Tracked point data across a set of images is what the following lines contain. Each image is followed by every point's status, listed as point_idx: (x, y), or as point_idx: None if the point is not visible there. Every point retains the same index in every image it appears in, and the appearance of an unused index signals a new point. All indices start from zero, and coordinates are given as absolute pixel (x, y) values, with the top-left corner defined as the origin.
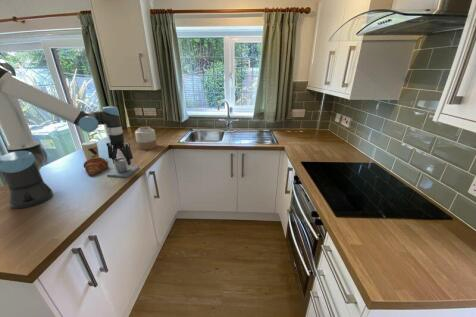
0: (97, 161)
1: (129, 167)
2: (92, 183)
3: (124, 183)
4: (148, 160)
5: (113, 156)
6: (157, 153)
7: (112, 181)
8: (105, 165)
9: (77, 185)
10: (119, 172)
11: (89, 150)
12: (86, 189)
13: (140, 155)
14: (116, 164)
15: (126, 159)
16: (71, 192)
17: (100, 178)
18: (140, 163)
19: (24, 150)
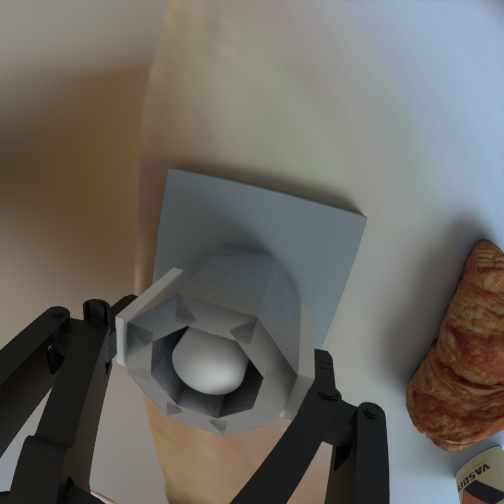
0: (484, 399)
1: None
2: (425, 91)
3: (152, 70)
4: (162, 440)
5: (303, 420)
6: (166, 489)
7: (268, 100)
8: (423, 384)
9: (500, 91)
10: None
11: (501, 491)
12: (405, 7)
13: None
14: (256, 288)
15: (103, 326)
16: (467, 3)
17: (409, 181)
18: None
19: None
